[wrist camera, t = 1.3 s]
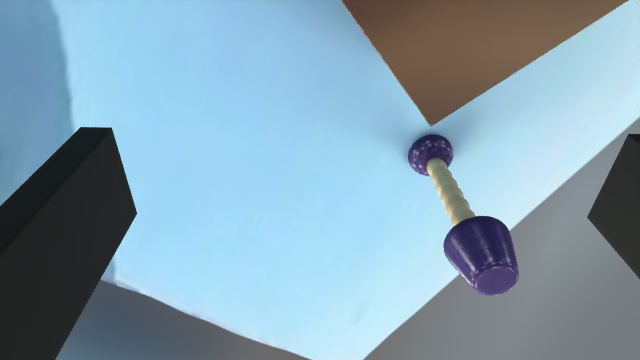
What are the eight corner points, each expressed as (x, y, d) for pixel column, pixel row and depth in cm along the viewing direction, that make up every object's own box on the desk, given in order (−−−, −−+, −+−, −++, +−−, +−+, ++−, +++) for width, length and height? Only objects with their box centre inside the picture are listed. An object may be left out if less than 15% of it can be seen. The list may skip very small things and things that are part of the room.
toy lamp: (419, 125, 38) (478, 251, 25) (465, 135, 39) (547, 264, 25) (401, 167, 41) (445, 302, 27) (445, 176, 42) (509, 313, 28)
